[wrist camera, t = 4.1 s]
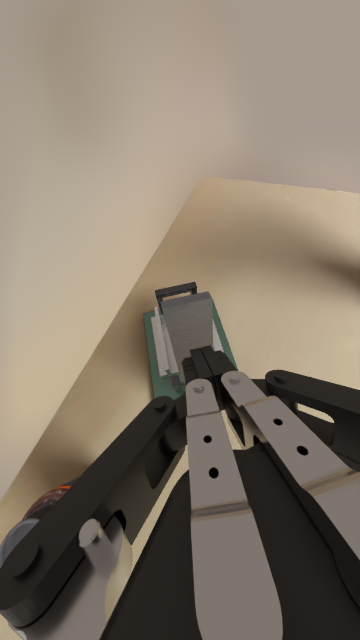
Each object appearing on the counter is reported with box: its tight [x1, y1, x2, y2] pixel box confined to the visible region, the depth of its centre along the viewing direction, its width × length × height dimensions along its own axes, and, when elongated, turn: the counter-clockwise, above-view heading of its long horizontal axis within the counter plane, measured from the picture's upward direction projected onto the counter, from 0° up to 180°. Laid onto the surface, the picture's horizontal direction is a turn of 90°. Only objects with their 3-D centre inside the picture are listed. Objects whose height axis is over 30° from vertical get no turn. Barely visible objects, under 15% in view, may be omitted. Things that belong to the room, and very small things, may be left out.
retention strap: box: [161, 291, 213, 387], centre depth 19 cm, size 1×4×13 cm, turn 102°
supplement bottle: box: [0, 476, 81, 568], centre depth 18 cm, size 6×6×11 cm
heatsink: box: [143, 282, 238, 400], centre depth 28 cm, size 16×13×8 cm
